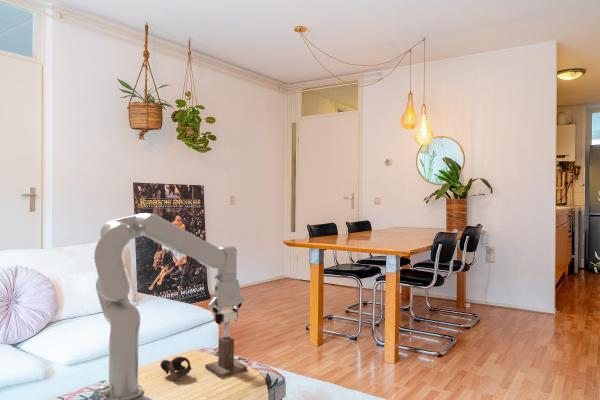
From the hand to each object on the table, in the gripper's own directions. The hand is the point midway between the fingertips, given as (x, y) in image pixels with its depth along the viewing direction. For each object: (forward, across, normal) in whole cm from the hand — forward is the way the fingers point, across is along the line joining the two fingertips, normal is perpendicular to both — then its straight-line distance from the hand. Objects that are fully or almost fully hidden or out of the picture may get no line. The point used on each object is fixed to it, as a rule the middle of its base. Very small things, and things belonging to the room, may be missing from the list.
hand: (226, 321), depth 175 cm
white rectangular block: (+11, 0, 0) cm, 11 cm away
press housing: (+19, 0, 0) cm, 19 cm away
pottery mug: (+19, -18, +6) cm, 27 cm away
